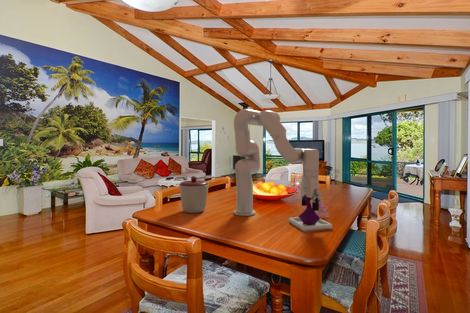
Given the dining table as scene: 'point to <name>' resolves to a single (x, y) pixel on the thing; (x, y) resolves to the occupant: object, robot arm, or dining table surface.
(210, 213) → the dining table surface
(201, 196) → the canister
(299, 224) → the tray
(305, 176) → the robot arm
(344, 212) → the dining table surface
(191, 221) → the dining table surface
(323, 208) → the lily
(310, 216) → the perfume bottle
